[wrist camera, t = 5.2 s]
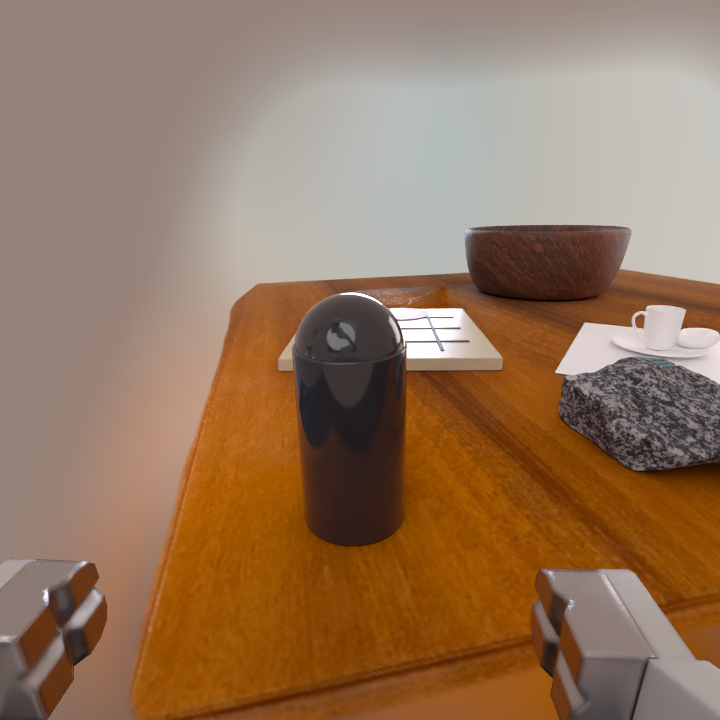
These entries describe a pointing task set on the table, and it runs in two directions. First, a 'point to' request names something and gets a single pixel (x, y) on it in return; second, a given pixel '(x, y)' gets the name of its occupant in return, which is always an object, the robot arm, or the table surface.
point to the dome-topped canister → (351, 418)
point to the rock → (646, 413)
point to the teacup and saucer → (645, 344)
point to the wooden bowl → (545, 259)
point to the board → (435, 342)
